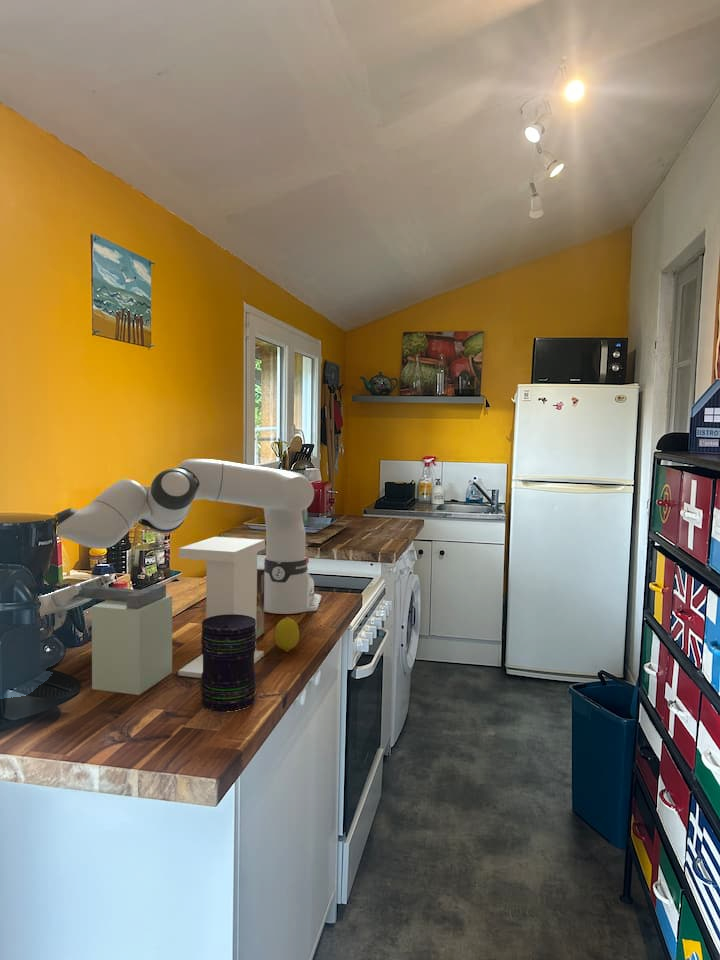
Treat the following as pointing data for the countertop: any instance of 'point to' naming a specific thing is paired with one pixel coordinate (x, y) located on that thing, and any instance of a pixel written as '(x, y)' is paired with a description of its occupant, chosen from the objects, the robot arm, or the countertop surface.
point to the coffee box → (260, 603)
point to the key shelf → (226, 582)
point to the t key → (125, 594)
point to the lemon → (287, 634)
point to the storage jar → (228, 662)
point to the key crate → (131, 645)
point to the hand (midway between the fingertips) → (94, 582)
